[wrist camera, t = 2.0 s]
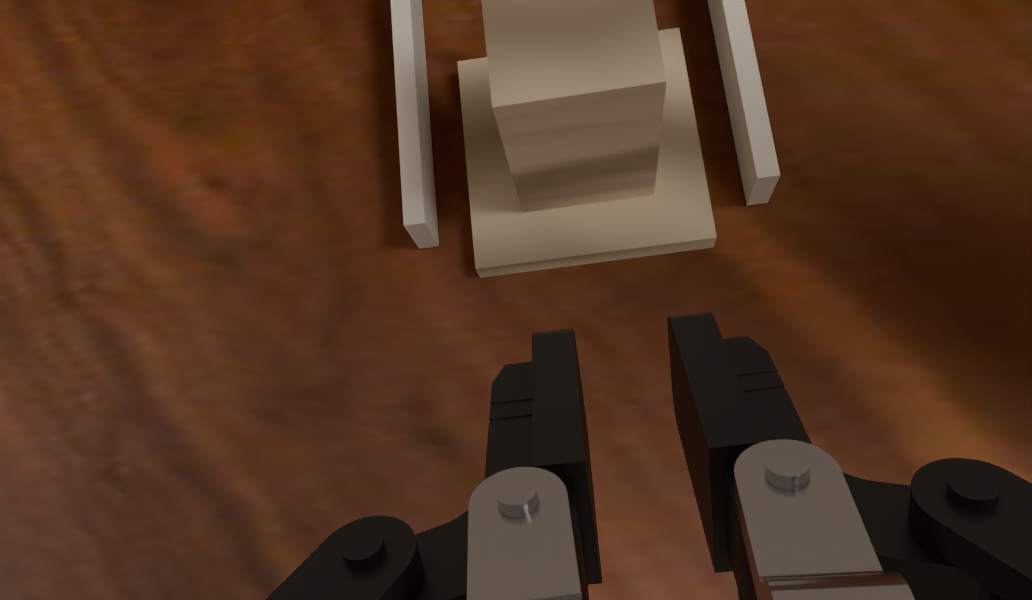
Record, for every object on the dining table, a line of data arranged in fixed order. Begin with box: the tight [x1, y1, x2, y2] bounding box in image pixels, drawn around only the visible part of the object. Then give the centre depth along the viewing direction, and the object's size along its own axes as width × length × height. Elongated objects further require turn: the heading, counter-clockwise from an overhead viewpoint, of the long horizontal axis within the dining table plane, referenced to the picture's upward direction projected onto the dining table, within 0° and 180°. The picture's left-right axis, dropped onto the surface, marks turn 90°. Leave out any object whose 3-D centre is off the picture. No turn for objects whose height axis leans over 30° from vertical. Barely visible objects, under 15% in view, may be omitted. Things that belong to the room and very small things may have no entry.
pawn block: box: [458, 0, 717, 278], centre depth 28 cm, size 9×9×9 cm
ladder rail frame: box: [391, 0, 780, 249], centre depth 32 cm, size 16×14×4 cm
